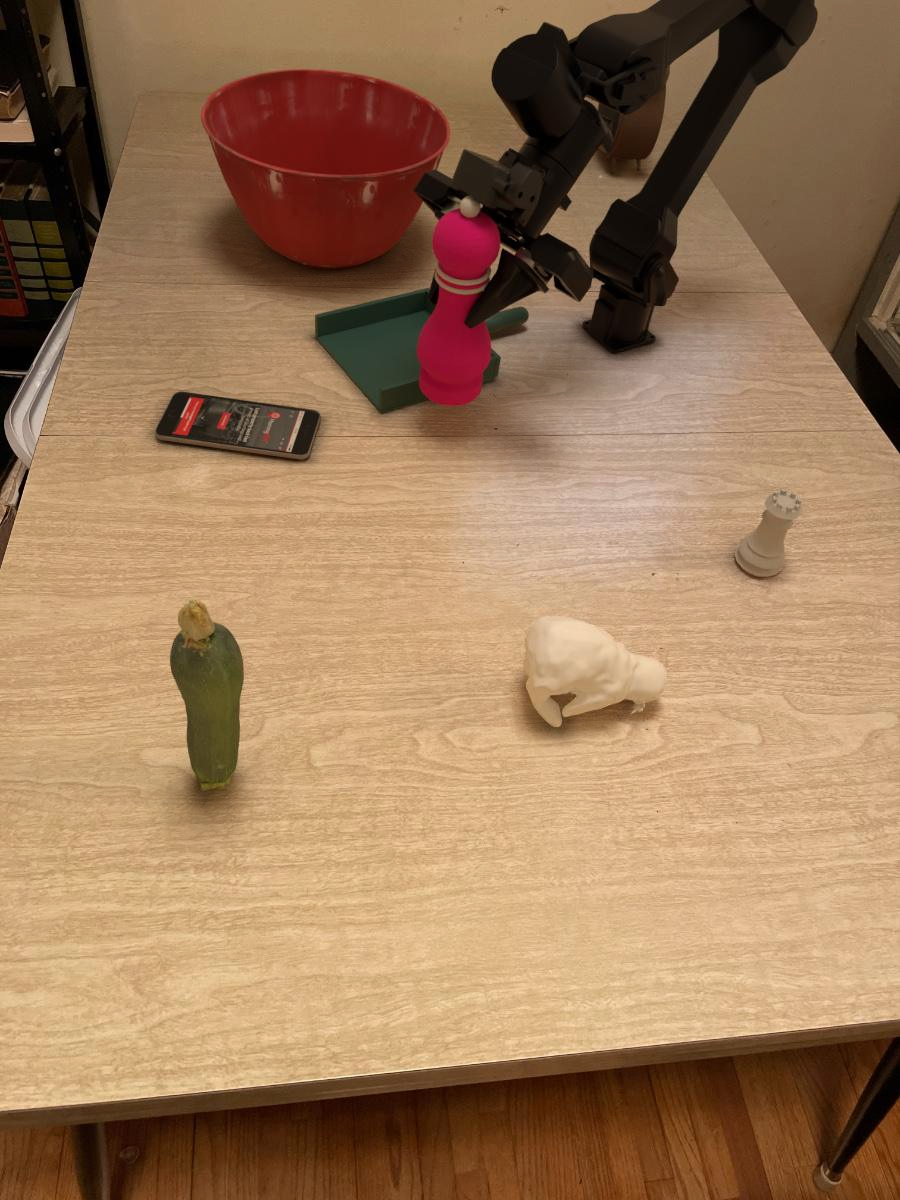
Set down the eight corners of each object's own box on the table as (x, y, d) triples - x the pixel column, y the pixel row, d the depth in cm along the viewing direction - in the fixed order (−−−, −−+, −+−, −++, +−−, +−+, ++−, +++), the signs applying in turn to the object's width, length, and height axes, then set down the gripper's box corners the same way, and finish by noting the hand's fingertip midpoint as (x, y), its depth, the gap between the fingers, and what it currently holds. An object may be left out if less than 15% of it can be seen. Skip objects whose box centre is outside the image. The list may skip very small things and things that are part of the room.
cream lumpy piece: (530, 594, 72) (680, 606, 74) (504, 664, 78) (643, 673, 81) (541, 661, 68) (699, 671, 70) (513, 729, 74) (659, 736, 76)
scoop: (381, 413, 99) (382, 390, 97) (314, 337, 108) (314, 314, 105) (562, 360, 109) (567, 338, 107) (489, 294, 117) (492, 272, 115)
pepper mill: (406, 401, 94) (419, 209, 79) (423, 358, 99) (438, 169, 84) (478, 416, 94) (505, 226, 79) (491, 372, 99) (520, 184, 83)
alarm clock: (583, 140, 151) (611, -5, 136) (628, 142, 152) (660, -1, 137) (603, 182, 141) (635, 32, 126) (650, 184, 142) (688, 36, 127)
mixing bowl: (483, 270, 121) (499, 145, 109) (279, 325, 108) (273, 191, 97) (367, 176, 135) (370, 57, 124) (175, 214, 123) (159, 86, 112)
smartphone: (175, 390, 97) (321, 410, 97) (176, 396, 98) (321, 416, 98) (152, 434, 92) (307, 456, 92) (153, 440, 93) (307, 462, 93)
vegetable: (195, 750, 71) (161, 560, 56) (255, 749, 71) (237, 560, 56) (189, 803, 68) (152, 617, 53) (252, 802, 68) (232, 617, 53)
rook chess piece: (781, 584, 88) (814, 520, 82) (733, 574, 88) (762, 510, 83) (780, 551, 91) (811, 487, 85) (733, 541, 91) (761, 477, 86)
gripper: (435, 74, 83) (336, 231, 86) (598, 156, 75) (482, 326, 78) (488, 145, 93) (398, 284, 96) (637, 224, 85) (534, 373, 88)
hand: (448, 314), depth 89 cm, fingers closed on pepper mill, 4 cm apart
